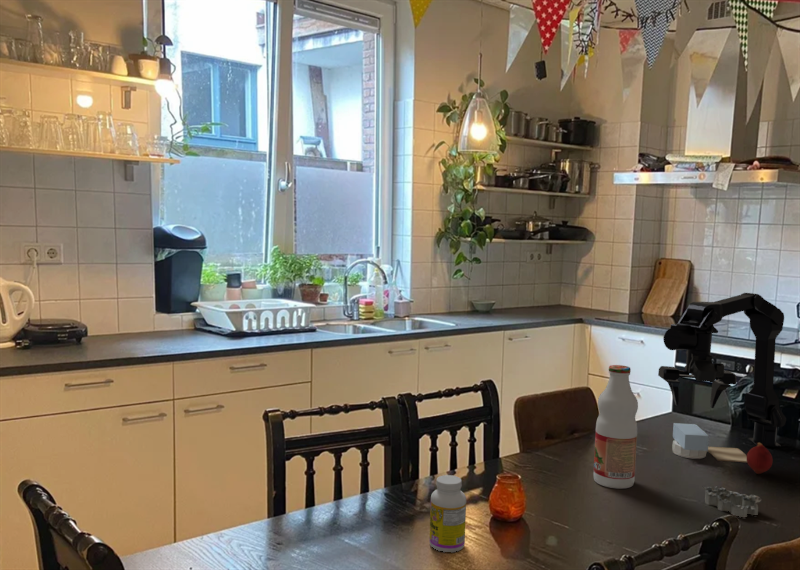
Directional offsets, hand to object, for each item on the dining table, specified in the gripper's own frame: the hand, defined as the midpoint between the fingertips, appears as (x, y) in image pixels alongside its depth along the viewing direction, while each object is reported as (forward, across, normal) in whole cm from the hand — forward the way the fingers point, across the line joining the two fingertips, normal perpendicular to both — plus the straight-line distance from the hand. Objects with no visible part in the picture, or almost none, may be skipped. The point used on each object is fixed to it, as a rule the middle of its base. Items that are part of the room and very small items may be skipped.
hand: (694, 406), depth 185 cm
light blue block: (+10, 0, +1) cm, 11 cm away
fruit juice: (+14, -25, -25) cm, 38 cm away
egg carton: (+14, -2, -36) cm, 39 cm away
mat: (+13, +10, +2) cm, 17 cm away
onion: (+13, +13, -12) cm, 22 cm away
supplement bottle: (+16, -63, -65) cm, 92 cm away
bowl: (+13, 0, +1) cm, 13 cm away
